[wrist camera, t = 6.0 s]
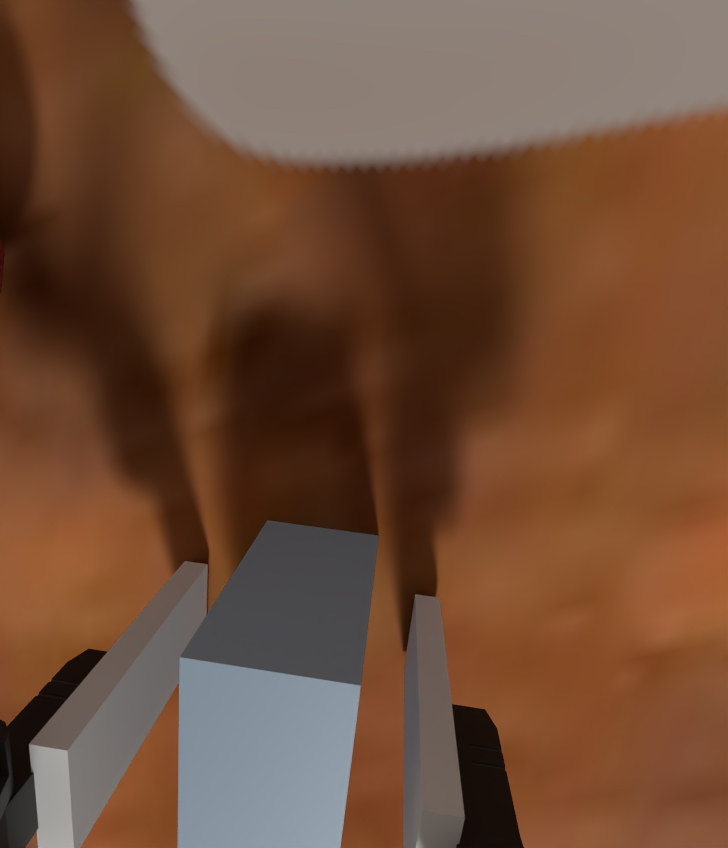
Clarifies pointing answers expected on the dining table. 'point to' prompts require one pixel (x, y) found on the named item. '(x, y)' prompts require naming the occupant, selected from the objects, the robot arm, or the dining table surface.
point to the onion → (1, 263)
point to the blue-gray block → (276, 693)
